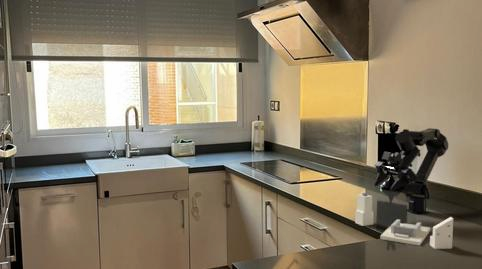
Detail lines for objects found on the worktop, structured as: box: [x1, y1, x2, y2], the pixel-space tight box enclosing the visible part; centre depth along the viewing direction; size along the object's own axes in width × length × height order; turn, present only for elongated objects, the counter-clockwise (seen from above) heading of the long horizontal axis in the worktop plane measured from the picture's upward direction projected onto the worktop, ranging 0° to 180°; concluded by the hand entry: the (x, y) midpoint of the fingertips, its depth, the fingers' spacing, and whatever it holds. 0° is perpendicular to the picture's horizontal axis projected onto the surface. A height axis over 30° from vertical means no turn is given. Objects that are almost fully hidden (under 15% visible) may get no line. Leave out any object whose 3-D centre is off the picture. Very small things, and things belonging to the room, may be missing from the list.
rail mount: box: [379, 218, 431, 247], centre depth 171 cm, size 18×13×4 cm
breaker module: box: [354, 192, 375, 227], centre depth 184 cm, size 5×4×12 cm
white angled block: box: [429, 216, 454, 250], centre depth 158 cm, size 4×10×9 cm, turn 92°
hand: (382, 188), depth 186 cm, fingers open, 9 cm apart
